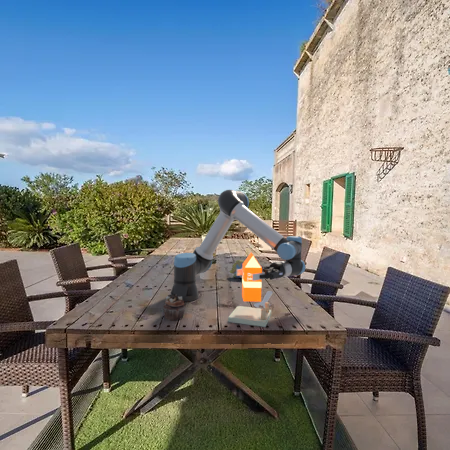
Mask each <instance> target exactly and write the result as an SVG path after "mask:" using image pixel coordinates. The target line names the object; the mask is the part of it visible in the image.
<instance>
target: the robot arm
mask: <svg viewBox="0 0 450 450" xmlns="http://www.w3.org/2000/svg"><path fill="white" fill-rule="evenodd" d="M217 204H218V207H219V214H218V216H217V217H216V219H215V221H214V222H213V224H212V225H211V226H210V229H209V230H208V232H207V233H206V236H205V238H204V239H203V240H202V242H201V244H200V246H196V247H195V248H194V249H193V252H182V253H179V254H178V253H177V254H176V255H175V256H174V258H173V259H174V260H173V285H172V287H171V290H170V294H169V295H173V296H174V294H177V296H181V297H182V300H183V301H184V302H193V301H195V300H198V299H199V290H198V287H197V283H196V280H197V279H196V278H197V277H196V276H197V275H200V274H205V272H208V270H209V269H211V267H212V264H213V259H214V256H213V255H214V253H215V252H216V249H217V248H218V246H219V244H220V243H222V242H221V241H222V240H223V238H224V237H225V235H226V233H227V232H228V231H229V229H230V227H231V226H232V224H233V222H234V221H238V222H239V223H240V224H242V225H243V226H244V227H246V229H248V230H249V231H250V232H252V233H253V234H254V235H255V236H256V237H257V238H259V239H260V240H261V241H263V243H265V244H266V245H267V246H269V247H270V248H271V249H273V251H275V252H276V254H277V256H278V258H279V259H280V260H281V259H282V261H277V262H272V263H270V265H267V266H264V265H263V266H262V265H260V266H261V267H262V273H256V274H253V277H252V280H253V281H255V280H261V279H262V280H265V279H266V280H270V281H271V280H275V279H281V278H282V279H285V278H286V277H287V278H288V277H292V276H299V275H302V274H303V273H305V271H306V264H305V261H304V260H302V249H303V248H302V245H303V242H302V241H303V240H302V237H301V236H295V235H290V236H289V235H288V236H286V237H284V235H283V234H281V233H280V232H278V231H277V230H276V229H274V228H273V227H272V226H271V225H269V224H268V223H267V222H266V221H264V220H263V219H262V218H260V217H259V216H258V215H257V214H256V213H254V212H253V211H252V210H250V209H249V205H250V200H249V197H248V195H247V194H246V193H245V192H242V191H241V190H233V189H226V190H224V191H222V192H221V193H219V196H218V199H217ZM242 271H243V269H237V270H236V276H240V275H243V272H242ZM173 296H172V297H173Z"/></svg>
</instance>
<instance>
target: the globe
mask: <svg viewBox="0 0 450 450" xmlns="http://www.w3.org/2000/svg"><path fill="white" fill-rule="evenodd" d="M245 260H246V259H245ZM245 260H244V259H237V260H236V261H235V263H233V264H232V265H231V266H232V268H231V270H229V273H230V274H233V276H232V277H233V279H234V278H236V279H237V278H238V279H242V275H240V276H236V270H237V269H243V265H242V264H243V263H244V261H245Z"/></svg>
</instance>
